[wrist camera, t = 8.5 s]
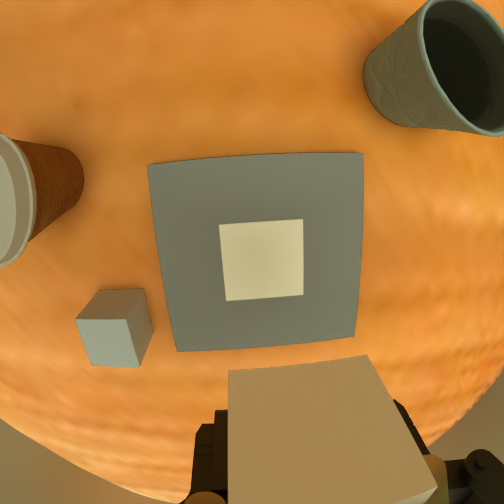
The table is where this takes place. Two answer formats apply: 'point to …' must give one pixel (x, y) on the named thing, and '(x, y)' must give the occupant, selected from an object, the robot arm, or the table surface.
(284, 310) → the board
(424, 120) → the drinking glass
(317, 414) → the cream block
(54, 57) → the table surface
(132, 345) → the blue grey block
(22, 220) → the disposable coffee cup
